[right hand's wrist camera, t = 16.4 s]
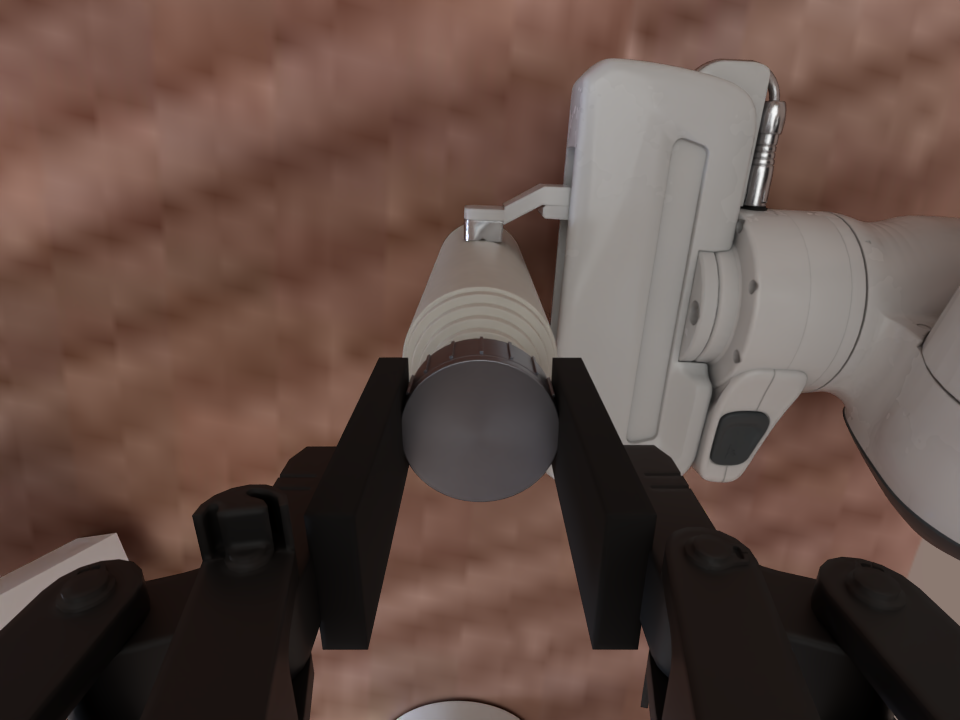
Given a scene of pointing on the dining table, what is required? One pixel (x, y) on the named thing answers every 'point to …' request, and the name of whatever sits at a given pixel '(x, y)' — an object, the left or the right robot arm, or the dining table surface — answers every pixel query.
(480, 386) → the cap
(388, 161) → the dining table surface
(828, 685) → the right robot arm
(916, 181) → the dining table surface
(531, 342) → the bottle
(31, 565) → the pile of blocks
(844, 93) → the dining table surface
